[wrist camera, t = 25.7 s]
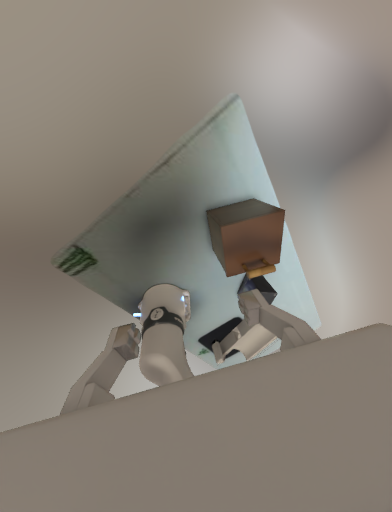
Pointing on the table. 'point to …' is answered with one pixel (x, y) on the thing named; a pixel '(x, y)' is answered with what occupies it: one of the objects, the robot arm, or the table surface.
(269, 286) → the small box
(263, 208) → the storage box
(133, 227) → the table surface
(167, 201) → the table surface
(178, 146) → the table surface
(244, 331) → the skate ramp
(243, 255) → the box lid
